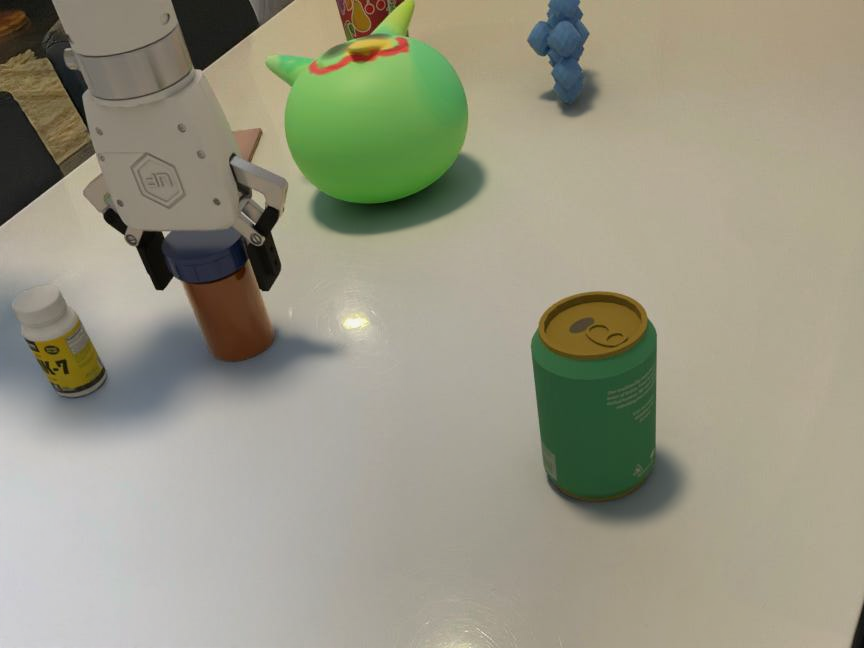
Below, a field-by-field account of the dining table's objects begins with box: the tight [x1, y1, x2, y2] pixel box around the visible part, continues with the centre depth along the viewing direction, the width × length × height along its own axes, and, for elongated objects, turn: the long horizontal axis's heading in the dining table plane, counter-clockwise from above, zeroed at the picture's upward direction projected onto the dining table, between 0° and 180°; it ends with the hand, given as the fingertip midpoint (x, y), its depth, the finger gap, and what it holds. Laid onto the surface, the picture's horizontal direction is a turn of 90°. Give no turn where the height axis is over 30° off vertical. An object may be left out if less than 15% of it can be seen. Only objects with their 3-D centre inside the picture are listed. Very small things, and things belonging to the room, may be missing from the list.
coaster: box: [232, 127, 263, 163], centre depth 109 cm, size 12×12×1 cm
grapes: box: [526, 0, 590, 105], centre depth 103 cm, size 12×7×12 cm, turn 175°
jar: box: [179, 259, 276, 362], centre depth 82 cm, size 6×6×9 cm
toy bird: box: [264, 0, 469, 205], centre depth 94 cm, size 18×17×15 cm
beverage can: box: [530, 290, 658, 502], centre depth 65 cm, size 8×8×12 cm
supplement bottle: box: [11, 284, 107, 398], centre depth 82 cm, size 5×5×8 cm
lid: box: [162, 226, 250, 283], centre depth 79 cm, size 7×7×2 cm
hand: (218, 281), depth 81 cm, fingers open, 9 cm apart
